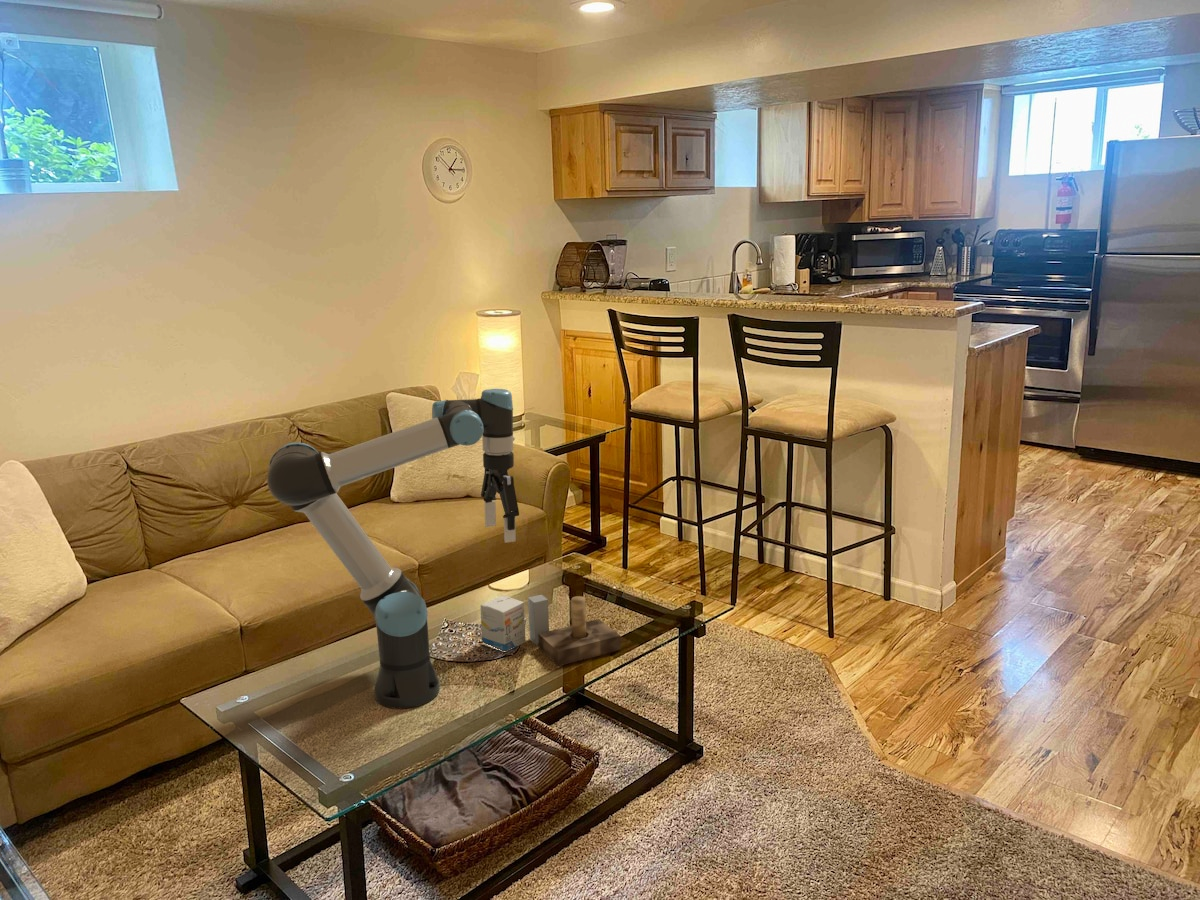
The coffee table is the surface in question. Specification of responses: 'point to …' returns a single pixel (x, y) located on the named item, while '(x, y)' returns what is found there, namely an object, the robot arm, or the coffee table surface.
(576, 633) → the oak dowel
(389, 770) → the coffee table surface
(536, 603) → the square peg
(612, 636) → the socket block
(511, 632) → the ink box
